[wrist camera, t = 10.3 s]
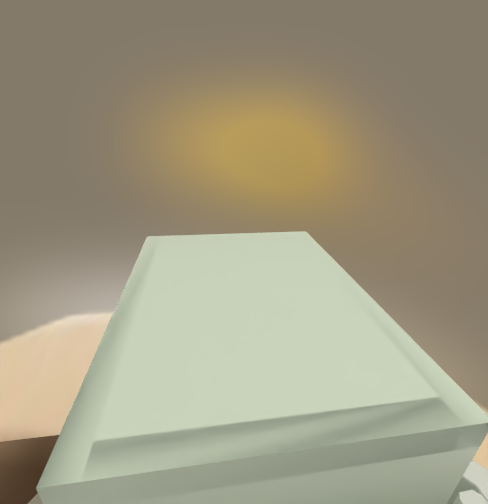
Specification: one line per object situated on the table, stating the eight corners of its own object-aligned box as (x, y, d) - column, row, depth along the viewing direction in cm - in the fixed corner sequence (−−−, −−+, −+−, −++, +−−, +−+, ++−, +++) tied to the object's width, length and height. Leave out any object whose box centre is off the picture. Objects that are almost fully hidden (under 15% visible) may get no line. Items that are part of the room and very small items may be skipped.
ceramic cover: (141, 701, 8) (36, 488, 3) (169, 411, 15) (147, 236, 11) (364, 644, 8) (493, 421, 4) (286, 398, 16) (305, 231, 12)
